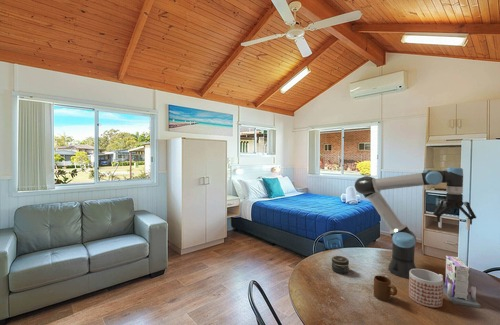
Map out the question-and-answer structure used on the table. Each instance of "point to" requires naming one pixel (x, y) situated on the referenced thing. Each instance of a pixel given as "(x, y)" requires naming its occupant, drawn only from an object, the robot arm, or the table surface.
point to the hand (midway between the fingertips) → (453, 228)
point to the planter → (426, 288)
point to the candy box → (457, 277)
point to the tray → (469, 302)
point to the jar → (340, 264)
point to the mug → (383, 288)
